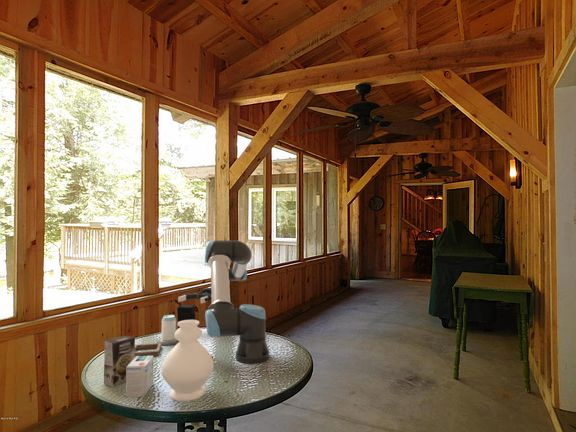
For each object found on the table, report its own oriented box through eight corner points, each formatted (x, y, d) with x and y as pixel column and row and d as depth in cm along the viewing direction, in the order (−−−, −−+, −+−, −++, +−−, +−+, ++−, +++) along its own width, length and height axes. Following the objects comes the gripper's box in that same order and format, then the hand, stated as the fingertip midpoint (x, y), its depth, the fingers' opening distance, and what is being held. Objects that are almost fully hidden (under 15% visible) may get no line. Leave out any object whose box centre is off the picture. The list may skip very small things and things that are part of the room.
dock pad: (180, 344, 185) (180, 342, 185) (154, 346, 182) (154, 344, 182) (181, 337, 197) (181, 335, 197) (157, 339, 194) (157, 337, 194)
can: (159, 341, 186) (160, 317, 186) (163, 337, 193) (163, 314, 193) (174, 341, 187) (174, 317, 187) (177, 337, 194) (177, 314, 194)
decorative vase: (167, 383, 140) (168, 316, 140) (215, 381, 142) (215, 315, 142) (155, 406, 122) (156, 330, 123) (210, 403, 124) (211, 328, 125)
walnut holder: (158, 355, 169) (158, 351, 169) (129, 357, 167) (129, 353, 167) (161, 347, 181) (161, 343, 181) (134, 348, 179) (134, 344, 179)
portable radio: (197, 353, 173) (197, 299, 174) (192, 357, 167) (193, 302, 168) (181, 352, 174) (181, 299, 174) (176, 357, 168) (176, 301, 168)
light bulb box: (135, 384, 139) (135, 355, 139) (153, 383, 140) (153, 354, 140) (125, 397, 128) (125, 366, 129) (145, 396, 129) (145, 365, 129)
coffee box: (113, 387, 136) (113, 343, 136) (103, 383, 139) (103, 340, 140) (135, 378, 144) (135, 337, 144) (125, 375, 147) (125, 334, 148)
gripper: (228, 301, 216) (210, 308, 195) (190, 299, 223) (169, 305, 202) (228, 288, 216) (210, 294, 196) (190, 286, 223) (169, 292, 203)
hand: (189, 300), depth 199 cm, fingers open, 13 cm apart
